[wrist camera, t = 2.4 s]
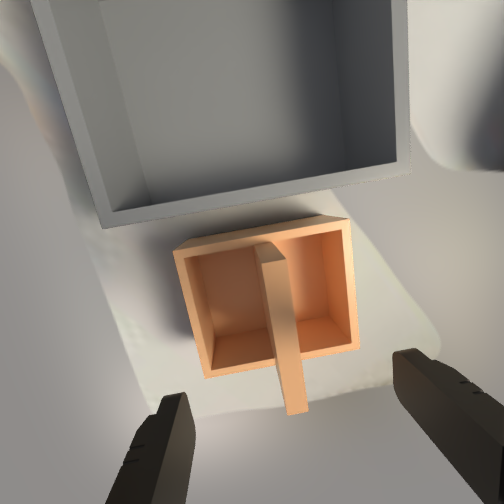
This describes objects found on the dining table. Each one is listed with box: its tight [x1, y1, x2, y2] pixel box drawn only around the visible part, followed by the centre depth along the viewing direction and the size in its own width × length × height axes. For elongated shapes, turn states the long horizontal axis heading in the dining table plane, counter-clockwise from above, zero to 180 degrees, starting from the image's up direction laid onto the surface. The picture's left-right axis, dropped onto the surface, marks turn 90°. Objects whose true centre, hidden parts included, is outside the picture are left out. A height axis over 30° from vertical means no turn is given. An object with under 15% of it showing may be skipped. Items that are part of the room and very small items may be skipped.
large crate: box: [30, 0, 411, 229], centre depth 15 cm, size 18×16×7 cm
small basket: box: [172, 215, 360, 415], centre depth 17 cm, size 12×10×10 cm
